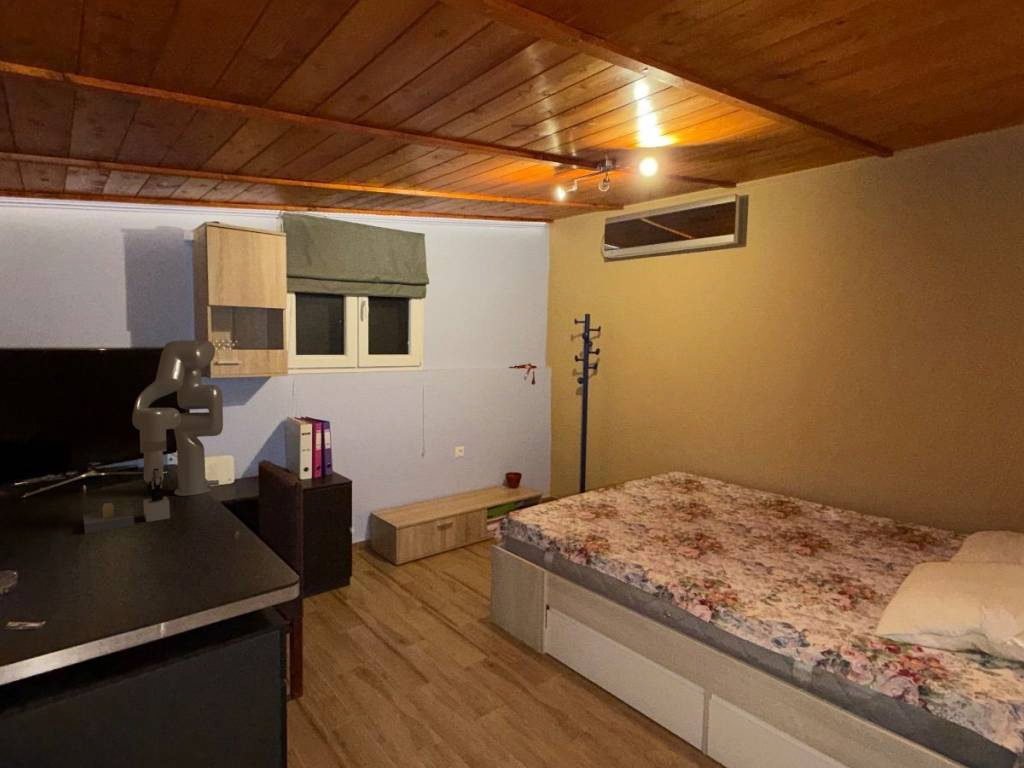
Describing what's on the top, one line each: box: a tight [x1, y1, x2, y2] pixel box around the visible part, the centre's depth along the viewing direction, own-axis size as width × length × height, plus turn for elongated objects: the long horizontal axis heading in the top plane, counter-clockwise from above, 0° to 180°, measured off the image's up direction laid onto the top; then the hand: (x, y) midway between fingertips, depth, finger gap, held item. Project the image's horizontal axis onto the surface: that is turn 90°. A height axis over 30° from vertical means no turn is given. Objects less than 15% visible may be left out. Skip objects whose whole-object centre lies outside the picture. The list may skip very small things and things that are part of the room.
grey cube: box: [143, 496, 171, 523], centre depth 204 cm, size 7×7×6 cm
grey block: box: [82, 502, 135, 534], centre depth 196 cm, size 13×13×7 cm
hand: (155, 497), depth 203 cm, fingers open, 9 cm apart
